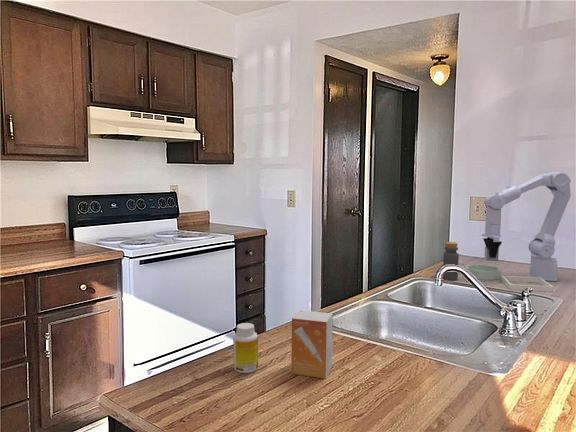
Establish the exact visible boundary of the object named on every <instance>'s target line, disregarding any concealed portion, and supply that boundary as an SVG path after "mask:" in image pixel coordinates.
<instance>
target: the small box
mask: <svg viewBox="0 0 576 432" xmlns="http://www.w3.org/2000/svg"><path fill="white" fill-rule="evenodd" d="M333 315H334V314H333V313H332V312H331V313H330V312H321V311H310V310H301V309H299V310H298V311H297V312H296V313H295V314H294V315H293V317H292V318H291V367H290V368H291V370H290V371H291V372H290V373H291V375H298V376H299V375H300V376H306V377H312V378H318V379H325V380H326V379H327V377H328V375H329V373H330V372H331V369H332V367H333V322H334V321H333V320H334V317H333Z"/></svg>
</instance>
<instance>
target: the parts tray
mask: <svg viewBox="0 0 576 432" xmlns="http://www.w3.org/2000/svg"><path fill="white" fill-rule="evenodd" d="M500 281H501V282H502V283H503V284H504V285H505V287H506V288H508V289H509V290H510V291H523V290H524V289H526V288H528V287H530V288H532V289H533V291H532V292H548V293H553V292H554V286H553V285H552V284H551V283H549V281H548V282H547V281H545V280H543V279H542V278H541V277H528V276H517V275H516V276H515V275H514V276H513V275H501V278H500ZM511 282H520V283H537V285H533V284H516V283H515V284H513V283H511ZM538 284H539V285H538Z"/></svg>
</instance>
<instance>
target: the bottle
mask: <svg viewBox="0 0 576 432" xmlns="http://www.w3.org/2000/svg"><path fill="white" fill-rule="evenodd" d="M458 244H459V243H458V242H456V241H455V242H453V241H447V242H445V246H444V250H445V252H443V257H442V258H443V260H442V261H443V263H442V264H443V265H445V264H455V265H458V266H459V252H457V251H458V250H459V248H458ZM458 277H459V272H458V273H457V272H447V273H445V274H444V275H443V274H442V279H443V280H446V281H453V282H454V281H457V280H459V279H458Z"/></svg>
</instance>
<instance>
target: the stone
mask: <svg viewBox="0 0 576 432" xmlns="http://www.w3.org/2000/svg"><path fill="white" fill-rule="evenodd" d="M499 249H500V248H499ZM499 249H498V251H497V255H496V258H490V256H489V248H488V247H486V246H484V260H485V261H486V262H487V261H488V262H499V255H500V254H499Z"/></svg>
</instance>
